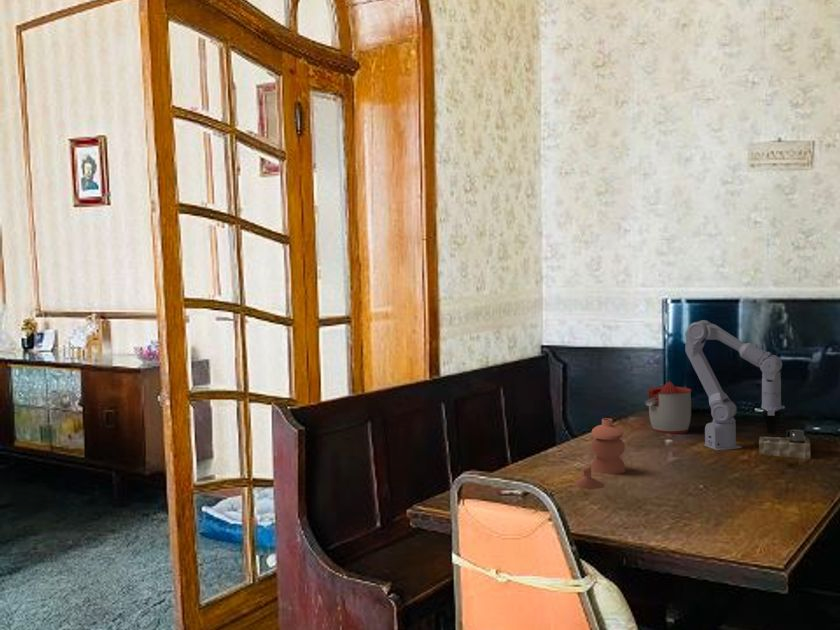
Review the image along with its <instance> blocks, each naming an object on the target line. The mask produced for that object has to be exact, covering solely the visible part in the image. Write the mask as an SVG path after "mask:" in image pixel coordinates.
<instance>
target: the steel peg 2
mask: <svg viewBox="0 0 840 630" xmlns="http://www.w3.org/2000/svg"><path fill="white" fill-rule="evenodd" d="M789 430H790V443H804V436H805V435H804V434H805V431H804V430H802V429H789Z"/></svg>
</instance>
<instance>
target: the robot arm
mask: <svg viewBox="0 0 840 630" xmlns="http://www.w3.org/2000/svg"><path fill="white" fill-rule="evenodd" d="M707 340H711V341H712V340H713V341H714V340H717V341H719V342H721V343H723V345H726V346H728V347H729V348H732V349H733V350H735V351H737V352H738V353H739V357H740V358H742V359H743V360H745V361H747V362H748V363H750V364H752V365H753V366H755V367H757V368H759V369H760V371H761V372H762V374H761V377H762V378H761V407H760V408H761V409H763V411H761V414H762V415H761V416H762V417H763V419H764V421H765V426H766V432H767V434H773V435H775V434H776V431H777V425H778V421H779V419H780V417H781V414H782V412H781V410H783V409H786V407H785V405H782V378H781V376H782V375H781V374H782V373H781V370H782V367H783V362H782V360H781V358H780V357H778V356H777V355H775V354H772V353H771V352H770V351H766V350H764V349H762V348H760V347H759V345H758V344H757V343H755V342H754V343H752V342H747V343H745V342H744V341H742V340H740V339H738V338H737V337H735V336H734V335H732V334H730V333H729V332H728V331H726V330H725V329H723V328H721V327H720V326H718V325H717V324H714V323H711V322H710V321H709V320H707V319H706V320H705V319H704V320H703V319H702V320H699V321H696V322H695V321H694V322H692V323H690V325H689V326H688V327H687V329H686V332H685V346H684V347H685V348H684V351H685V353H686V356H687V358H688V360H689V361H690V363H691V365H692V368H693V370H694V371H695V374H696V375H697V376H698V377H697V378H698V379H699V381H700V383H701V385H702V387H703V390H704V392H705V393H706V395H707V397H708V404H709V407H710V413H711V417H712V421H711V422H709V423H706V425H705V427H704V444H703V446H705V447H708V448H710V449H713V450H715V451H725V450H726V451H728V450H737V449H742V445H741V446H740V445H738V444H737V443H736V442H737V439H736V438H737V433H736V431H737V430H736V427H737V426H736V419H735V417H734V416H735V415H736V414H737V409H738V407H737V405H736V403H734V402H733V401H732V400H731V399H730V398H729V396H728V395H727V393H726V392H724V391H723V389H722V386H721V384H720V383H719V381H718V378H717V377H716V375H715V373H714V370H713V369H712V366H710V363H709V361H708V358H707V357H706V355H705V353H704V351H703V348H704V346H705V344H706V341H707Z"/></svg>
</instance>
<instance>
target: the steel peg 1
mask: <svg viewBox="0 0 840 630" xmlns="http://www.w3.org/2000/svg"><path fill="white" fill-rule="evenodd" d="M765 441H771V442H778V440H777V439H765Z"/></svg>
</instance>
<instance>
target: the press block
mask: <svg viewBox="0 0 840 630" xmlns="http://www.w3.org/2000/svg"><path fill="white" fill-rule="evenodd" d="M765 439H777V440H778V442H771V441H765ZM810 440H811V439H809V438H808V439H804V443H790V438H786V437H779V436H778V437H776V436H759V441H758V450H759V451H758V455H761V454H764V455H763V456H771V455H773V456H772V457H774V456H775V457H783V458H785V457H786V458H794V459H795V458H796V459H805V460H806V459H807V460H810V459H811V442H810Z"/></svg>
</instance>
